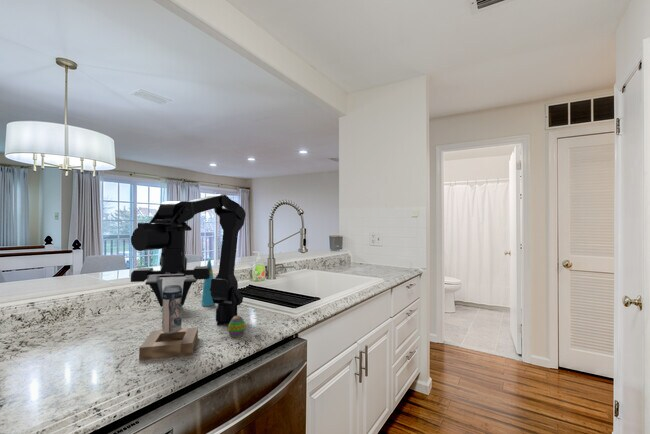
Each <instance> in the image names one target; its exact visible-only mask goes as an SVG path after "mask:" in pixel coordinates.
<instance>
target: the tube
mask: <svg viewBox="0 0 650 434" xmlns="http://www.w3.org/2000/svg"><path fill="white" fill-rule="evenodd" d="M206 266H209V267H210V269H211V273H210V278H209V279H203V285H202V286H203V287H202V294H201V295H202V296H201V297H202V298H201V306H203V307H210V306H211V305H212V306H214V305H215V304H214V303H213V300H212V296H211V291H210V287H211V280H212V278H214V271H213V265H212V261H211V256H209V257H208V260H207V263H206Z"/></svg>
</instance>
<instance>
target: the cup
mask: <svg viewBox="0 0 650 434" xmlns="http://www.w3.org/2000/svg"><path fill="white" fill-rule="evenodd" d="M160 278H163V280H162V290H164V288H165V287H166V286H170V285H180V286H181V288H182V292H183V284H184V281H185V279H186V278H185V277H160ZM183 306H184V305H182V307H183ZM160 308H161V310H162V311H163V306H162V307H161V306H160Z"/></svg>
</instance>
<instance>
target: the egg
mask: <svg viewBox="0 0 650 434" xmlns="http://www.w3.org/2000/svg"><path fill="white" fill-rule="evenodd" d="M227 331H228V334H229V336H230V337H231V338H234V339H235V338H236V339H237V338H241V337H243V336H244V334H245V332H246V322H245V320H244V318H243V317H242V316H241V315H239V314H237V316H234V317H233V318H232V319H231V321H230V323H229V324H228V330H227Z"/></svg>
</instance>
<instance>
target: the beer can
mask: <svg viewBox="0 0 650 434" xmlns="http://www.w3.org/2000/svg"><path fill="white" fill-rule="evenodd" d="M182 308H183V306H182V288H181V286H180V285H170V286H166V287H165V288H164V290H163V310H162V325H161V328H162V329H161V330H162V332H164V333H167V334H171V333H176V332H178V331H179V330H181V329H183V328H182V319H183V318H182V312H183V311H182V310H183V309H182Z"/></svg>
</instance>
